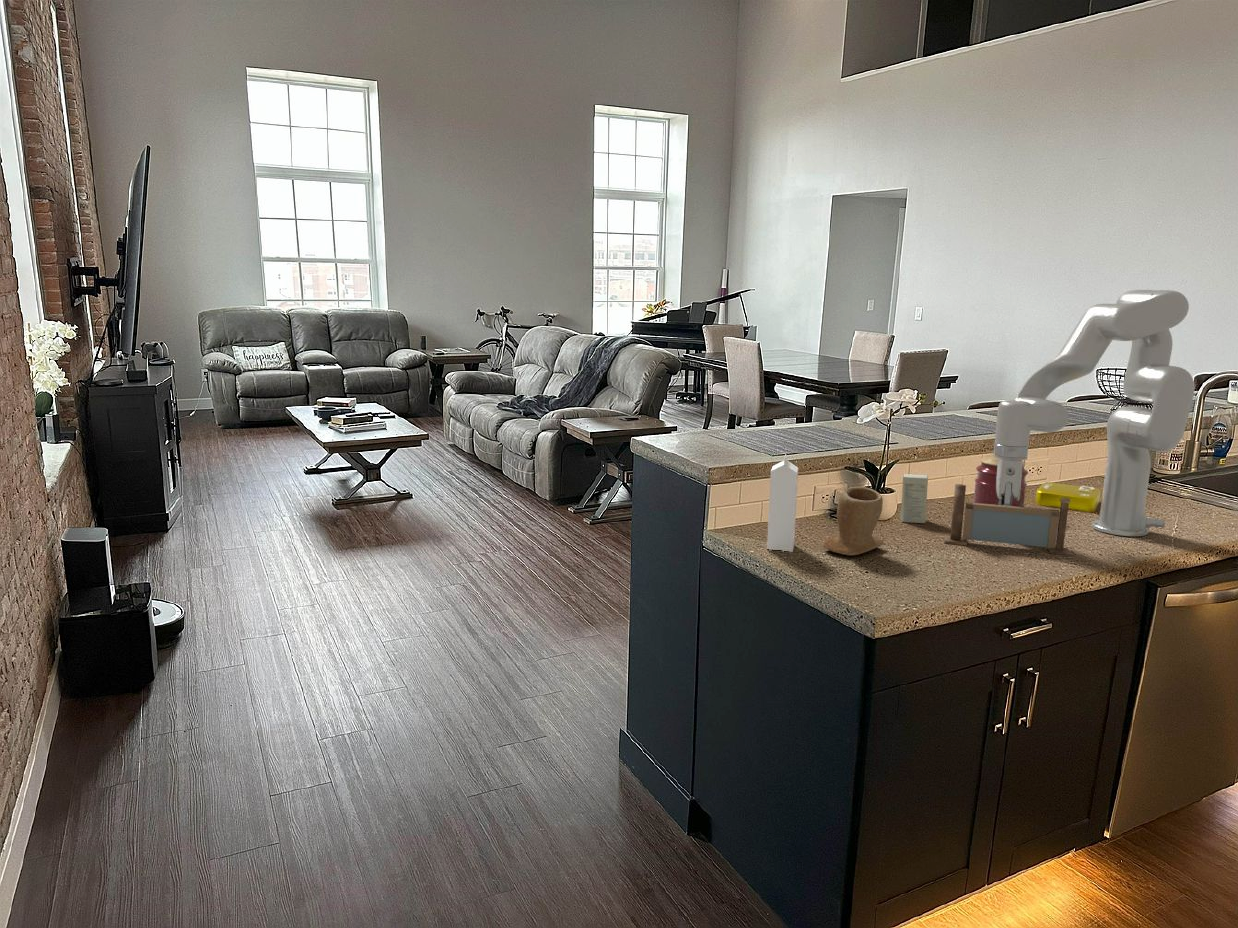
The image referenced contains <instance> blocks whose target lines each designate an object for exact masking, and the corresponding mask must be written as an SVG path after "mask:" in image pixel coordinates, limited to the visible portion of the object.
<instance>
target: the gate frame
mask: <svg viewBox="0 0 1238 928" xmlns="http://www.w3.org/2000/svg"><path fill="white" fill-rule="evenodd" d="M966 489H967V485H966V484H961V483H957V484H954V493H953V502H952V503H953V507H952V515H951V516H952V517H951V527H950V535H943V540H944V544H947V545H955V546H957V545H958V546H966V547H967V546H968V541H967V540H965V539H963V536H962V534H963V523H964V520H963V519H964V513H965V510H964V509H965V503H966V492H967V491H966ZM1060 501H1061V507H1060V508H1059V512H1060V513H1059V521H1058V529H1057V537H1056V546H1055V548H1048V547H1047V548H1048V550H1049V552H1050V553H1049V554H1051V553H1055V555H1061V554H1066V555H1065V556H1071V552H1070V550H1069V549H1068V547H1064V546H1065V545H1064V544H1065V537H1066V532H1067V531H1066V530H1067V523H1068V521H1067V520H1068V513H1069V509H1068V506H1069V503H1070V499H1069V498H1060Z"/></svg>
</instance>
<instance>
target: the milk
mask: <svg viewBox="0 0 1238 928" xmlns="http://www.w3.org/2000/svg"><path fill="white" fill-rule="evenodd" d="M798 478H799V467H798V466H796V465H795V464H793V463H792V462H790V461H789V460H787V453H785V455H784V458H783V460H782V461H780V462H778V463H776V464H774V465H772V468H771V469H770V479H769V499H768V500H769V501H768V519H767V520H768V522H767V539H766V541H767V542H766V543H767V544H766V550H767V549H773V550H782V551H781V552H784V551H789V552H788V553H793V552H794V548H795V547H794V546H795V535H796V533H795V531H796V517H797V516H796V514H797V499H798V495H797V494H798V481H799V480H798Z"/></svg>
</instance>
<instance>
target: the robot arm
mask: <svg viewBox="0 0 1238 928" xmlns="http://www.w3.org/2000/svg"><path fill="white" fill-rule="evenodd" d="M1189 308H1190V304H1189V301H1188V298H1187V297H1186V296H1185V295H1184V294H1183V293H1181V292H1179V291H1176V290H1169V289H1166V290H1165V289H1162V290H1161V289H1136V290H1135V289H1134V290H1129V291H1128V290H1127V291H1126V292H1123V293H1122V294H1120V296H1118V299H1117V301H1116V303H1098V304H1095V305H1092V306H1090V307H1089V308H1088V309H1086V311H1085V312H1084V313H1083V314H1082V317H1080V319H1079V321H1078V323H1077V324H1076V325H1075V327H1074V329H1073V330H1072V332H1071V333H1070V335H1069V336H1068V339H1067V340H1066V342H1065V344H1064V345H1063V347H1062V348H1061V350H1060V352H1059V353H1058V354H1057V355H1056V356H1055V357H1054V358H1053V359H1051V360H1049V361H1048V362H1047V363H1046V364H1045V365H1043V366H1041V367H1039V368H1040V369H1038V370H1037V371H1035V372H1034V373H1033V374H1032V375H1030V377H1028V379H1027V380H1026V381H1025V382H1024V383H1023V385H1022V387H1021V389H1020V390H1019V391H1018V393H1017V395H1016V396H1015V397H1014V399H1006V400H1002V401H1000V403H999V404H998V407H997V417H996V425H995V434H994V435H995V436H994V445H993V454H992V455H993V456H994V457H995V458H998V465H997V477H996V492H997V496H998V498H999V502H998V505H1004V506H1012V499H1013V495H1014V498H1015V499H1016V500H1017V501H1018V500H1019V499H1020V489H1021V478H1022V461H1026V460H1027V459H1028V454H1029V443H1030V436H1031V431H1035V432H1041V433H1042V432H1043V433H1054V432H1058V431H1060V430H1062V429H1063V428H1065V426H1066V425H1067V424H1068V422H1069V417H1070V415H1069V411H1068V409H1067V407H1066V406H1065V405H1063V404H1062V403H1060V402H1057V401H1054V400H1050V399H1049V400H1048V399H1047V398H1048V397H1049V396H1050V394H1052V392H1053V391H1055V390H1056V389H1058V388H1059V387H1060V386H1062V385H1064V384H1066V383H1068V382H1072V381H1074V380H1077V379H1079V378H1082V377H1085V376H1087V375H1090V374H1091V373H1092V372H1093V371H1094V370H1095V369H1096V367H1097V365H1098V364H1099V362H1100V360H1101V358H1102V356H1103V355H1104V354H1105V352H1106V351H1107V349H1108V348H1109V346H1110V344H1111V343H1112V342H1113V341H1119V342H1131V348H1130V354H1129V358H1128V363H1127V365H1126V372H1125V374H1124V380H1123V384H1122V385H1123V387H1122V390H1123V393H1124V396H1126V397H1127V398H1128V399H1130V400H1133V401H1137V402H1141V403H1145V404H1152V408H1146V407H1141V406H1132V405H1131V406H1130V405H1129V406H1121V407H1119V408H1117V409H1116V410H1114V411H1113V412H1112V413H1110V416H1109V417H1108V419H1107V423H1106V437H1107V457H1106V467H1105V474H1104V478H1103V479H1104V481H1103V488H1102V495H1101V502H1100V503H1101V504H1100V511H1099V517H1098V518H1099V519H1098V518H1097V519H1094V520H1092V521H1091V527H1092V528H1093V529H1094V530H1096V531H1098V532H1102V533H1105V534H1106V533H1107V534H1109V535H1110V534H1111V535H1114V536H1115V535H1116V536H1120V537H1121V536H1123V537H1143V536H1146V535H1148V534H1149V532H1150V530H1149V528H1150V527H1155V528H1163V529H1164V528H1165V527H1166V526H1165V525H1166V521H1165V519H1157V517H1147V515H1145V509H1146V508H1145V507H1146V503H1147V501H1146V500H1147V496H1148V495H1147V494H1148V486H1149V479H1150V474H1151V465H1152V460H1151V455H1150V451H1154V452H1155V451H1156V452H1170V451H1172V450H1173V449H1175V448H1176V447H1177V446H1178V445H1179V444H1180V442H1181V441H1182V439H1183V436H1184V433H1185V431H1186V427H1187V423H1188V419H1189V415H1190V410H1191V407H1192V402H1193V399H1194V395H1195V382H1194V378H1193V376H1192V374H1191V373H1190V372H1189V371H1188V370H1186V369H1185V368H1184V367H1183V368H1182V367H1180V366H1174V365H1170V363H1171V357H1172V350H1173V346H1174V345H1173V336H1172V332H1171V331H1170V329H1172V328H1174V327H1176V326H1178V325H1180V324H1181V323H1182V322H1183V321H1184V320H1185V318H1186V317H1187V315H1188V312H1189ZM1149 450H1150V451H1149Z"/></svg>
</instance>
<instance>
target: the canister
mask: <svg viewBox="0 0 1238 928" xmlns="http://www.w3.org/2000/svg"><path fill="white" fill-rule="evenodd" d="M980 462H981V464H980V465H977V466H976V467H975V470H976V472H977V477H976V478H975V479H974V481H975V483H974V484H975V485H974V493H973V494H974V495H973V500H972V503H981V504H993V505H998V502H999V498H998V496H997V492H996V477H997V465H998V458H995V457H994V456H993V454H988V455H986V456H985V457H982V458H981V459H980ZM1026 464H1027V463H1026V462H1025V461H1024V460H1022V478H1021V489H1020V499H1019V500H1018V501H1017V500H1016V499H1015V498H1014V495H1013V499H1012V506H1016V507H1026V506H1025V498H1026V492H1027V485H1028V483H1027V482H1026V476H1028V475H1029V471H1028V470H1027V469H1025V466H1026Z"/></svg>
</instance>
